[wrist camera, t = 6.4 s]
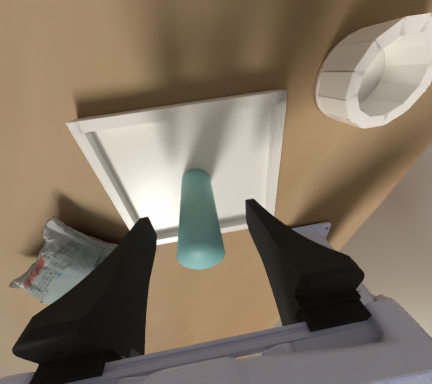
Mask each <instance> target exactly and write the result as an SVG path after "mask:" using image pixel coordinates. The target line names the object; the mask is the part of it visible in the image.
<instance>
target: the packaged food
mask: <svg viewBox="0 0 432 384" xmlns="http://www.w3.org/2000/svg"><path fill="white" fill-rule="evenodd" d="M43 238H44V239H45V244H44V246H43V248H42V249H41V250H40V252H39V256H38V258H37V261H36V262H35V263H34V264H32V265H31V267H30V268H29V269H28V271H27V272H26V273H25V274H23V275H21V276H20V277H18V278H16V279H15V280H13V281H12V282H11V283H10V284H9V287H11V288H22V289H24V290H25V291H26V292H28V293H29V294H31V295H33V296H35V297H36V298H38V299H40V300H42V301H41V303H49V304H52V303H53V302H55V301H56V300H57V299H59V298H60V297H61V296H63V295H64V294H65V293H67V292H68V291H69V290H71V289H72V288H73V287H74V286H76V285H77V284H78V283H79V282H80V281H82V280H83V279H84V278H85V277H86V276H87V275H88V274H90V273H91V272H92V271H93V270H94V269H95V268H96V267H97V266H98V265H99V264H100V263H101V262H103V261H104V260H105V259H106V258H107V256H108V255H109V254H110V253H111V252H112V251H113V250H114V249H115V248H116V247H117V245H118V244H113V243H108V242H106V241H103V240H100V239H97V238H94V237H91V236H89V235H86V234H83V233H81V232H78V231H76V230H74V229H72V228H71V227H67V226H65V224H64V222H60V220H59V219H57V218H56V217H53V218H51V219H50V220H48V222H47V223H46V225H45V229H44V232H43Z"/></svg>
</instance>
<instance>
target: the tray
mask: <svg viewBox="0 0 432 384" xmlns="http://www.w3.org/2000/svg"><path fill="white" fill-rule="evenodd" d="M287 95H288V90H283V89H275V90H268V91H261V92H254V93H248V94H241V95H234V96H227V97H221V98H214V99H207V100H200V101H193V102H187V103H180V104H173V105H166V106H159V107H153V108H146V109H139V110H132V111H125V112H119V113H112V114H105V115H98V116H92V117H85V118H78V119H75V120H72V121H70V122H67V123H66V125H67V126H68V128H69V130H70V131H71V133H72V135H73V136H74V138H75V140H76V141H77V143H78V145H79V146H80V148H81V150H82V151H83V153H84V155H85V156H86V158H87V160H88V161H89V163H90V165H91V166H92V168H93V170H94V171H95V173H96V175H97V177H98V178H99V180H100V182H101V183H102V185H103V187H104V188H105V190H106V192H107V193H108V195H109V197H110V198H111V200H112V202H113V203H114V205H115V207H116V208H117V210H118V212H119V213H120V215H121V217H122V218H123V220H124V222H125V223H126V225H127V227H128V229H129V230H131V228H132V227H133V226H134V225H135V223H136V222H137V221H138V220H139V218H143V217H149V219H150V221H151V224H152V226H153V228H154V230H155V232H156V234H157V245H159V244H165V243H170V242H176V241H178V230H179V215H180V200H181V185H182V177H183V175H184V174H185V172H187V171H188V170H190V169H194V168H198V169H202V170H204V171H206V172H207V173H208V175H209V177H210V181H211V186H212V190H213V195H214V200H215V205H216V210H217V215H218V220H219V225H220V230H221V233H225V232H231V231H236V230H242V229H247V228H248V226H247V222H246V209H245V200H247V199H253V198H254V199H255V200H256V201H257V202H258V203H259V204H260V205H261V206H262V207H263V208H265V209H266V210H267V211H268V212H269V213H270V214H272V215H273V216H274V211H275V202H276V193H277V184H278V175H279V166H280V158H281V149H282V140H283V131H284V122H285V113H286V104H287Z"/></svg>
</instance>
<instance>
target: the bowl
mask: <svg viewBox="0 0 432 384" xmlns="http://www.w3.org/2000/svg"><path fill="white" fill-rule="evenodd" d="M431 81H432V13H428V14H420V15H413V16H406V17H402V18H398V19H394V20H391V21H387V22H383V23H379V24H375V25H372V26H368V27H364V28H361V29H359V30H357V31H355V32H353V33H351V34H349V35H347V36H346V37H345V38H343V39H342V40H341V41H340V42H338V43H337V44H336V45H335V46H334V48H333V49H332V50H331V51H330V52H329V54H328V55H327V57H326V58H325V60H324V61H323V63H322V65H321V67H320V69H319V72H318V74H317V77H316V81H315V87H314V98H315V103H316V105H317V108H318V109H319V111H320V112H321V113H323V114H324V115H326V116H328V117H331V118H333V119H335V120H337V121H341V122H344V123H347V124H350V125H353V126H357V127H360V128H364V129H365V128H371V127H377V126H383V125H385V124H387V123H388V122H390V121H392V120H393V119H395V118H396V117H398V116H400V115H401V114H403V113H404V112H406V110H408V109H409V108H410V107H411V106H412V105H413V104H414V103H415V101H416V100H417V99H418V98H419V97H420V96H421V95H422V94H423V93H424V92H425V91H426V90H427V87H429V85H430V83H431Z"/></svg>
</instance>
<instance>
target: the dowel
mask: <svg viewBox="0 0 432 384" xmlns="http://www.w3.org/2000/svg"><path fill="white" fill-rule="evenodd" d="M224 255H225V250H224V245H223V240H222V235H221V230H220V225H219V220H218V215H217V210H216V205H215V200H214V195H213V190H212V186H211V181H210V177H209V175H208V173H207V172H206V171H204V170H202V169H198V168H194V169H190V170H188V171H187V172H185V174H184V175H183V177H182V185H181V200H180V215H179V230H178V245H177V260H178V262H179V263H180V264H181V265H182V266H184V267H187V268H190V269H206V268H210V267H212V266H215V265H216V264H218V263H219V262H220V261H221V260H222V259H223V258H224Z"/></svg>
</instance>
